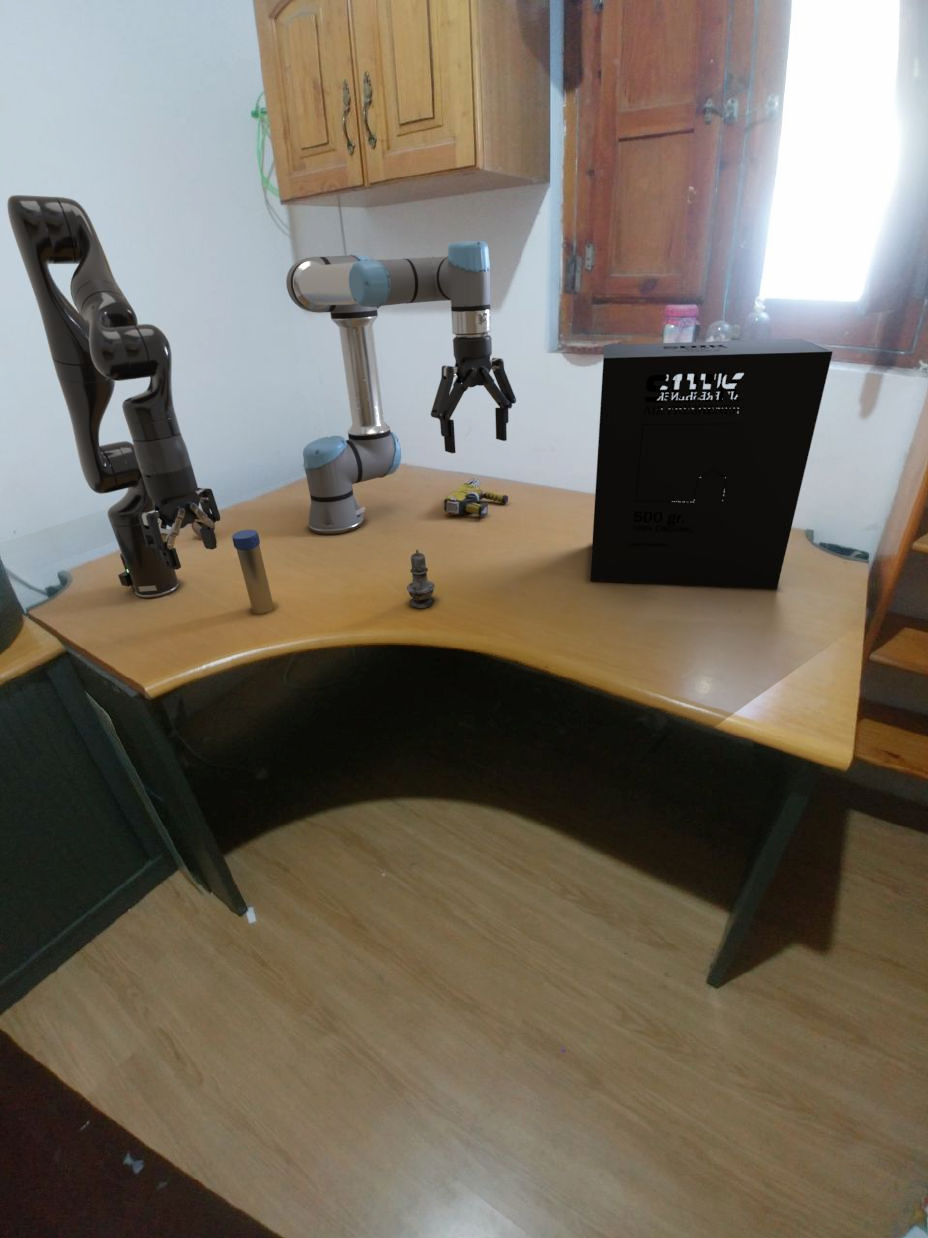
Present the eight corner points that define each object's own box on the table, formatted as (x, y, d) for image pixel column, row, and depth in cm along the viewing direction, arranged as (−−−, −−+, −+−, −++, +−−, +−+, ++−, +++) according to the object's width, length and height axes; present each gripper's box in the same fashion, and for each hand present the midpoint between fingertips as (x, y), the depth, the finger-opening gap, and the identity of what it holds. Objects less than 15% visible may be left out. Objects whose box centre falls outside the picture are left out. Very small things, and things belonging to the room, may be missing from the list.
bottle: (260, 616, 126) (241, 542, 117) (248, 609, 128) (229, 537, 120) (278, 607, 128) (261, 535, 120) (266, 601, 131) (248, 530, 123)
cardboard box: (756, 549, 141) (800, 338, 118) (776, 589, 124) (832, 351, 101) (592, 544, 148) (604, 344, 126) (590, 580, 131) (603, 357, 109)
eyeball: (204, 541, 163) (198, 520, 160) (190, 537, 166) (184, 517, 163) (223, 533, 168) (217, 513, 165) (208, 530, 171) (202, 510, 168)
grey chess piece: (432, 609, 124) (427, 555, 118) (404, 607, 125) (398, 554, 119) (439, 596, 129) (434, 544, 123) (412, 594, 130) (407, 543, 124)
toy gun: (516, 483, 183) (470, 476, 187) (493, 506, 163) (442, 498, 167) (515, 498, 186) (469, 491, 190) (492, 523, 166) (441, 514, 170)
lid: (243, 552, 118) (240, 540, 117) (229, 546, 121) (226, 535, 120) (264, 543, 121) (262, 532, 120) (251, 538, 124) (248, 527, 123)
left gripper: (180, 451, 103) (206, 540, 111) (110, 476, 91) (144, 573, 99) (215, 454, 100) (238, 544, 108) (147, 479, 89) (179, 578, 97)
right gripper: (429, 342, 108) (437, 460, 118) (533, 329, 120) (532, 437, 131) (407, 340, 113) (417, 454, 124) (508, 328, 125) (510, 432, 136)
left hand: (193, 558), depth 104 cm, fingers open, 8 cm apart
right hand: (476, 445), depth 127 cm, fingers open, 13 cm apart
